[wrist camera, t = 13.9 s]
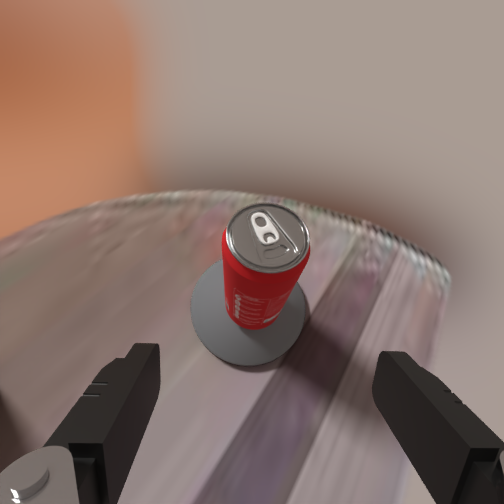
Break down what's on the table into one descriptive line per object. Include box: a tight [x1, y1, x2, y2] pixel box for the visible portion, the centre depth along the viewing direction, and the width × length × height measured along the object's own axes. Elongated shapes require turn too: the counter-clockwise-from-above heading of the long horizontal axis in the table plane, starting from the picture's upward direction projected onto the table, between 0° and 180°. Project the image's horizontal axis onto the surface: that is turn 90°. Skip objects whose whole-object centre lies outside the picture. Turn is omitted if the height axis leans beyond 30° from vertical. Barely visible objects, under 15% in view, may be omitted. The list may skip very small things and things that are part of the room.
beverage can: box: [222, 202, 310, 330], centre depth 19 cm, size 5×5×12 cm
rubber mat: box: [191, 259, 305, 366], centre depth 25 cm, size 11×11×1 cm
